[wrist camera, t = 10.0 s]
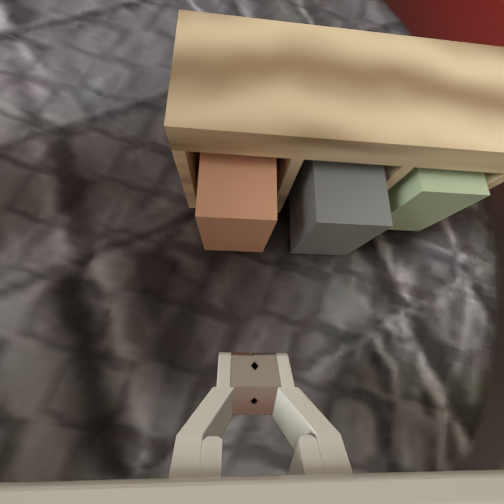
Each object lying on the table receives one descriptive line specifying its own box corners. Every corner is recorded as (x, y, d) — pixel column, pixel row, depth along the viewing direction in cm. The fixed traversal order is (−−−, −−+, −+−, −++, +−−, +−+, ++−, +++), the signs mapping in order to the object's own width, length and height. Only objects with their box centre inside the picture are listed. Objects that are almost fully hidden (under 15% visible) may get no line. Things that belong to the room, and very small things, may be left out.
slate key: (345, 255, 24) (392, 226, 17) (290, 253, 23) (316, 222, 16) (339, 186, 25) (379, 135, 19) (288, 182, 25) (311, 129, 18)
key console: (430, 220, 26) (551, 156, 16) (189, 207, 24) (163, 125, 14) (415, 143, 28) (512, 48, 19) (196, 125, 26) (179, 9, 17)
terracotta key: (262, 252, 23) (277, 220, 16) (204, 250, 22) (195, 216, 16) (262, 181, 25) (275, 126, 18) (209, 177, 24) (202, 120, 18)
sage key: (419, 231, 25) (490, 195, 18) (368, 228, 24) (422, 191, 18) (408, 167, 27) (467, 113, 20) (361, 163, 26) (406, 107, 20)
